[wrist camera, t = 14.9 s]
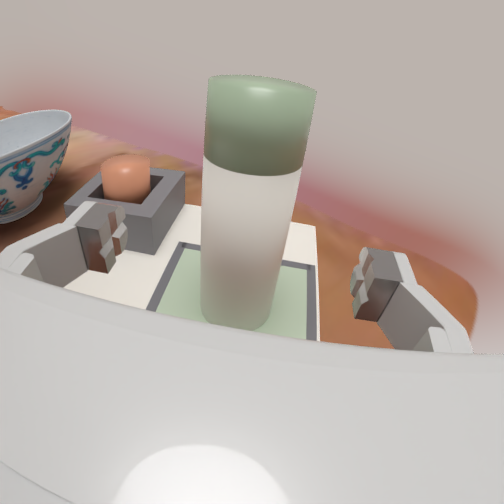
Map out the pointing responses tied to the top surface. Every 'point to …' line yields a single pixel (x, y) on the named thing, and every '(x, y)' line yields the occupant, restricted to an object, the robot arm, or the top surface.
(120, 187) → the button
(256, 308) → the marker
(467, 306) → the top surface
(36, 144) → the chinaware
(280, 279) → the white board
